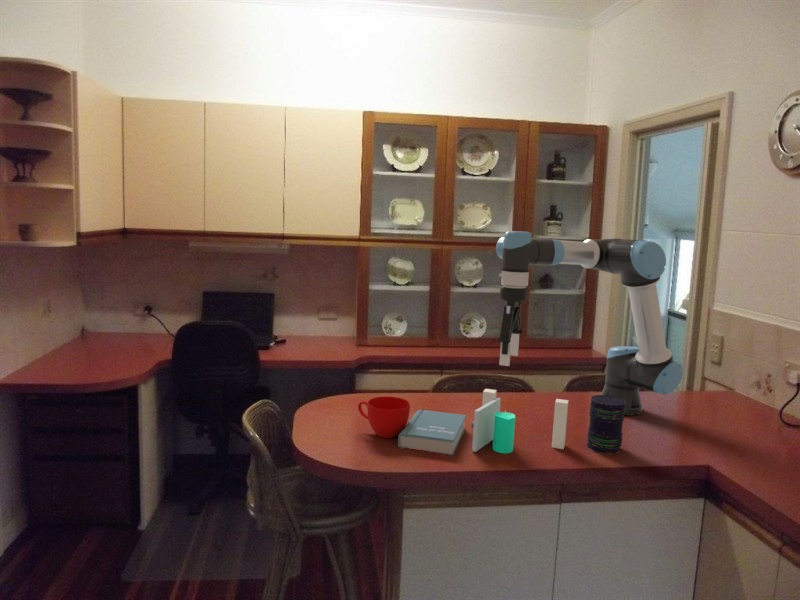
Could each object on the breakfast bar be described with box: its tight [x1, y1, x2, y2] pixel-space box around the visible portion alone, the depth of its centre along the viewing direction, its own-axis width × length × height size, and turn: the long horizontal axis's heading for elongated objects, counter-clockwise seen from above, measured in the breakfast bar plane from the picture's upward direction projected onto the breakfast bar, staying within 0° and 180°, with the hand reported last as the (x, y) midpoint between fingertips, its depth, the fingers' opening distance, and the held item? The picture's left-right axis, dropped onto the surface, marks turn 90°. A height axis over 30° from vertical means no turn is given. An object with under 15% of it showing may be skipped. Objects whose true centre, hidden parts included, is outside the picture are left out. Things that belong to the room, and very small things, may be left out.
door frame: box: [481, 388, 570, 450], centre depth 182 cm, size 25×4×14 cm, turn 69°
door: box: [470, 397, 501, 453], centre depth 178 cm, size 16×3×12 cm, turn 148°
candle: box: [492, 409, 516, 454], centre depth 175 cm, size 6×6×12 cm
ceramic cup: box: [357, 396, 411, 439], centre depth 184 cm, size 13×17×10 cm
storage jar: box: [586, 394, 625, 454], centre depth 179 cm, size 10×10×15 cm
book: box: [397, 409, 467, 456], centre depth 182 cm, size 23×16×5 cm
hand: (508, 360), depth 172 cm, fingers open, 13 cm apart
